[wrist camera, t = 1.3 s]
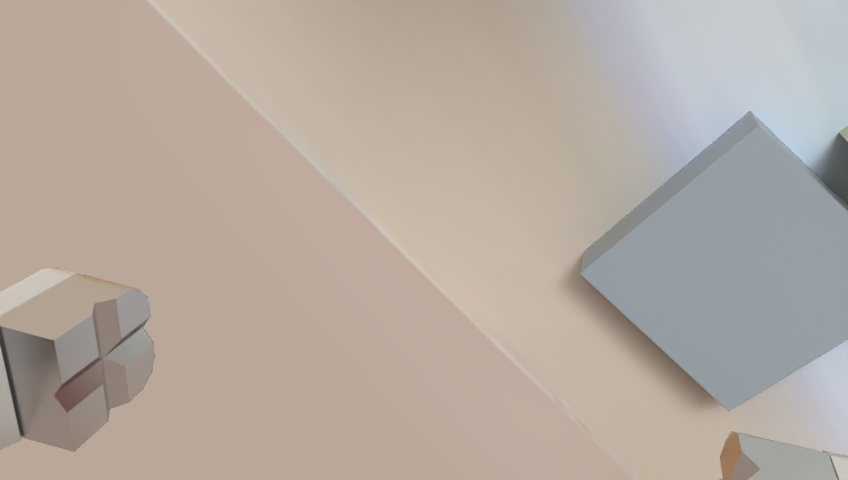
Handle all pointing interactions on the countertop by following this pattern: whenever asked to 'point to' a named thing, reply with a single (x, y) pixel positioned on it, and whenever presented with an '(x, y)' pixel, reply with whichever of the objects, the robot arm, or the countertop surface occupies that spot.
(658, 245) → the slate base block
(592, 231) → the countertop surface
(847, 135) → the sage block
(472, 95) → the countertop surface
